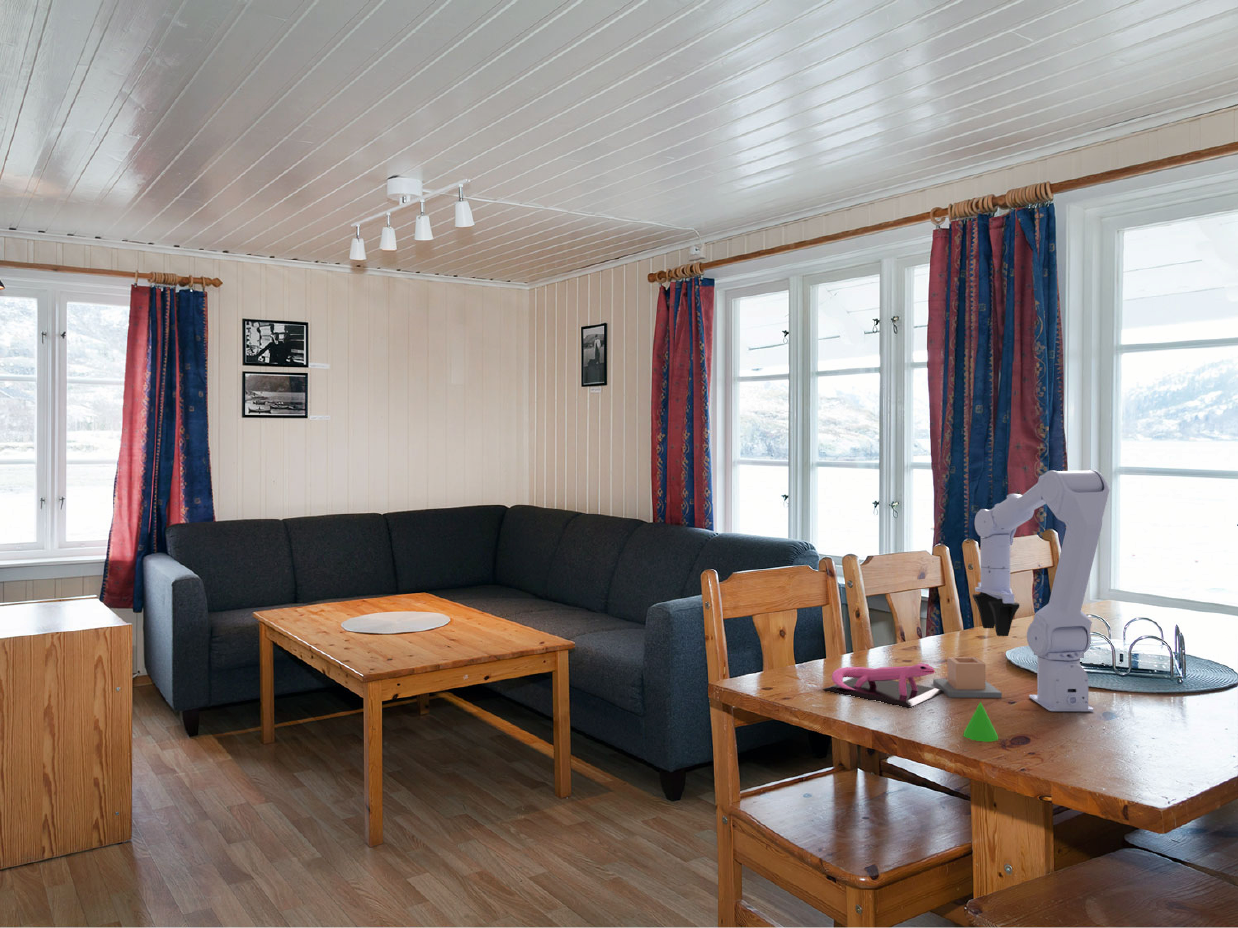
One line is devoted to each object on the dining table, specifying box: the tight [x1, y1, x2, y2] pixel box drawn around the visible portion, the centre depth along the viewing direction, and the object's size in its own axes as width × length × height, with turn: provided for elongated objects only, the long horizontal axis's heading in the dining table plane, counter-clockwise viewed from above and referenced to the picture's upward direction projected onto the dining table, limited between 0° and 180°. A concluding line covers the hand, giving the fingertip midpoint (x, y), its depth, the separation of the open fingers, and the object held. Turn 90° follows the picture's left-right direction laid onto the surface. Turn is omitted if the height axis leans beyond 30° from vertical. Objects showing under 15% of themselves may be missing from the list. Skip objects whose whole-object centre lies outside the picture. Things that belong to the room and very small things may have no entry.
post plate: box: [932, 678, 1003, 699], centre depth 178 cm, size 10×10×5 cm
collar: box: [946, 656, 986, 689], centre depth 178 cm, size 6×6×5 cm
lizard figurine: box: [822, 662, 944, 709], centre depth 178 cm, size 15×20×7 cm
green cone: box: [962, 701, 999, 743], centre depth 151 cm, size 6×6×6 cm
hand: (995, 631), depth 188 cm, fingers open, 7 cm apart
